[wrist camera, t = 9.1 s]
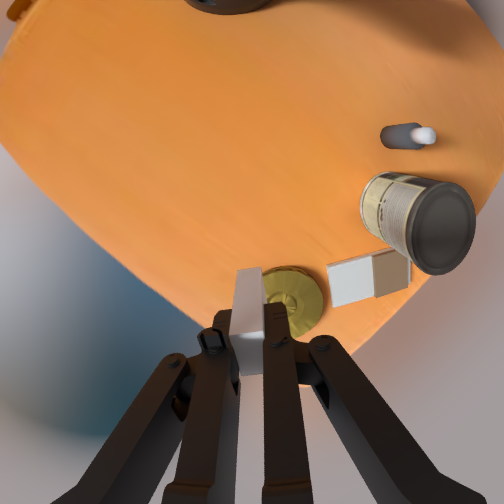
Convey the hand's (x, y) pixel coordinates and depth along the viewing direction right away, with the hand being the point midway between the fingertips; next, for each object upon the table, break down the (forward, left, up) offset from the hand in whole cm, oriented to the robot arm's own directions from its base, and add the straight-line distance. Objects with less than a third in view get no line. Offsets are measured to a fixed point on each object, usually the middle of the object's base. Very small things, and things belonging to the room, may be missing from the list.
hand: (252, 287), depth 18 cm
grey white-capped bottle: (-7, +23, -21) cm, 31 cm away
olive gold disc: (+14, +2, -21) cm, 25 cm away
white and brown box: (+13, +16, -21) cm, 29 cm away
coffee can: (+3, +21, -21) cm, 29 cm away
